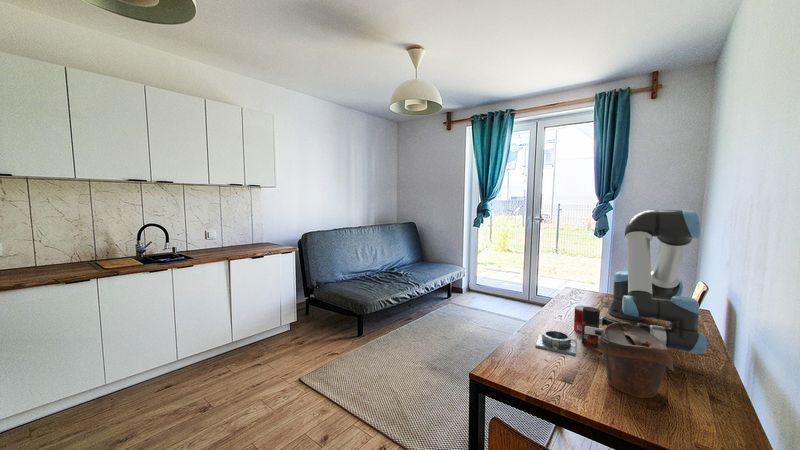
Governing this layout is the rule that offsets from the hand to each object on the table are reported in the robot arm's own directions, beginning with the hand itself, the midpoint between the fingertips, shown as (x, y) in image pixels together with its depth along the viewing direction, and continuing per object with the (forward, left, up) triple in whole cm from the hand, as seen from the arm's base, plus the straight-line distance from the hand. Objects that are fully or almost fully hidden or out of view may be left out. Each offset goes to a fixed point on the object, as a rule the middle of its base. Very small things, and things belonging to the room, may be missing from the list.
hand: (584, 323), depth 128 cm
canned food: (-14, 0, -9) cm, 17 cm away
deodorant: (0, +2, -9) cm, 9 cm away
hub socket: (+7, -10, -8) cm, 15 cm away
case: (+28, +13, -9) cm, 32 cm away
